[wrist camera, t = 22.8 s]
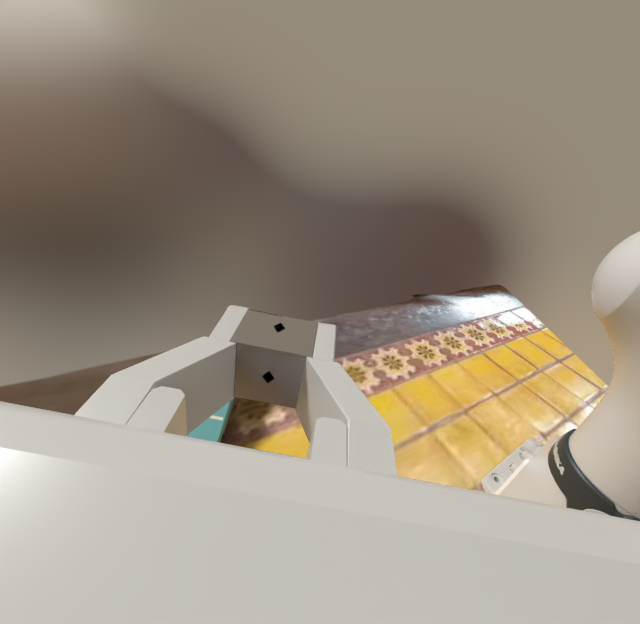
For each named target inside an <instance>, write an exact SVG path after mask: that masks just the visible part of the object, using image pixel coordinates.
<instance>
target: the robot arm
mask: <svg viewBox="0 0 640 624" xmlns="http://www.w3.org/2000/svg"><path fill="white" fill-rule="evenodd" d="M591 297H592V304H593V307H594V310H595V312H596V315H597V317H598V318H599V320H600V321H601V322H602V324H603V325H604V327H605V329H606V331H607V333H608V335H609V338H610V340H611V344H612V347H613V351H614V362H615V363H614V374H613V378H612V381H611V384H610V386H609V388H608V390H607V392H606V393H605V395H604V396H603V398H602V399H601V400H600V402H599V403H598V404H597V406H596V407H595V408H594V410H593V411H592V412H591V413H590V415H589V416H588V417H587V418H586V419H585V420H584V422H583V423H582V424H581V425H580V426H579V427H578V428H577V429H573V430H571V431H569V432H567V433H565V434H564V435H562V436H551V438H550V439H549V440H548V441H547V442H546V443H545V444H542V443H539V442H536V441H534V440H533V439H530V438H529V439H528V440H526V441H525V442H524V443H523V444H521V445H520V446H519V447H518V448H517V449H516V450H515V451H513V452H512V453H511V454H510V455H509V456H508V457H507V458H505V459H504V460H503V461H502V462H501V463H500V464H499V465H497V466H496V467H495V468H494V469H493V470H492V471H490V472H489V473H488V474H487V475H486V476H485V477H484V478H483V479H482V481H481V483H482V486H483V488H484V490H485V492H480V491H475V490H470V489H464V488H459V487H454V486H448V485H443V484H438V483H432V482H427V481H421V480H416V479H411V478H405V477H400V476H397V472H396V464H395V456H394V449H393V441H392V433H391V428H390V427H389V426H388V424H387V423H386V422H385V421H384V419H383V418H382V417H381V415H380V414H379V413H378V412H377V410H376V409H375V408H374V407H373V405H372V404H371V403H370V401H369V400H368V399H367V398H366V396H365V395H364V394H363V393H362V391H361V390H360V389H359V387H358V386H357V385H356V384H355V382H354V381H353V380H352V379H351V377H350V376H349V375H348V373H347V372H346V371H345V370H344V368H343V367H342V366H341V365H340V363H336V362H334V357H335V341H336V326H335V325H331V324H325V323H319V322H318V323H317V322H312V321H306V320H300V319H295V318H289V317H284V316H281V315H277V314H272V313H268V312H263V311H259V310H254V309H249V308H245V307H240V306H235V305H231V306H229V307H228V309H227V310H226V312H225V313H224V315H223V317H222V318H221V319H220V321H219V323H218V324H217V326H216V327H215V329H214V330H213V332H212V333H211V335H210V336H209V337H201V338H199V339H196V340H194V341H192V342H189V343H187V344H184V345H182V346H179V347H177V348H175V349H172V350H170V351H167V352H165V353H163V354H160V355H158V356H155V357H153V358H151V359H148V360H146V361H143V362H141V363H139V364H136V365H134V366H131V367H129V368H127V369H124V370H122V371H119V372H117V373H115V374H112V375H111V376H110V377H109V378H108V379H107V380H106V381H105V382H104V384H103V385H102V386H101V387H100V388H99V389H98V390H97V391H96V392H95V393H94V394H93V395H92V396H91V397H90V399H89V400H88V401H87V402H86V403H85V404H84V405H83V406H82V407H81V408H80V409H79V410H78V411H77V412H76V414H75V415H70V414H64V413H59V412H54V411H48V410H43V409H38V408H32V407H27V406H22V405H16V404H11V403H6V402H0V624H640V231H639V232H637V233H635V234H633V235H632V236H630V237H628V238H627V239H625V240H624V241H622V242H621V243H620V244H618V245H617V246H616V247H615V248H614V249H613V250H611V251H610V252H609V254H608V255H607V256H606V257H605V258H604V259H603V261H602V262H601V263H600V265H599V267H598V269H597V271H596V273H595V276H594V278H593V282H592V288H591ZM233 397H238V398H244V399H250V400H256V401H262V402H267V403H272V404H276V405H281V406H286V407H290V408H295V409H296V412H297V415H298V417H299V419H300V422H301V424H302V426H303V429H304V431H305V433H306V436H307V438H308V441H309V443H310V444H309V448H308V452H307V456H306V459H305V458H299V457H294V456H289V455H283V454H278V453H273V452H267V451H262V450H257V449H251V448H246V447H241V446H235V445H230V444H225V443H219V442H214V441H209V440H203V439H198V438H193V437H187V435H188V434H189V433H190V432H191V431H193V430H194V429H195V428H197V427H198V426H199V425H200V424H202V423H203V422H204V421H205V420H207V419H208V418H209V417H211V416H212V415H213V414H214V413H216V412H217V411H218V410H219V409H221V408H222V407H223V406H224V405H226V404H227V403H228V402H230V401H231V400H232V399H233ZM495 480H496V481H497V482H496V481H495Z"/></svg>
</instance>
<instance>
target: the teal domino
mask: <svg viewBox="0 0 640 624" xmlns="http://www.w3.org/2000/svg"><path fill="white" fill-rule="evenodd" d="M233 400H234V397H233V399H232V400H231V401H230V402H228V403H227V404H226V405H224V406H223V407H222V408H221V409H219V410H218V411H217V412H216V413H214V414H213V415H212V416H211V417H209V418H208V419H207V420H205V421H204V422H203V423H202V424H200V425H199V426H198V427H197V428H195V429H194V430H193V431H191V432H190V433H189V434H188V435H187V437H193V438H198V439H203V440H209V441H214V442H219V443H220V442H221V438H222V435H223V432H224V429H225V425H226V422H227V419H228V416H229V413H230V409H231V406H232V403H233Z"/></svg>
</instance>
